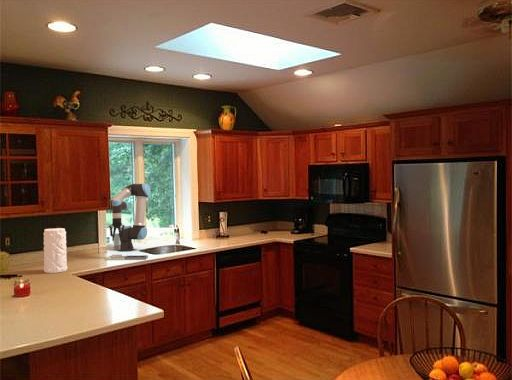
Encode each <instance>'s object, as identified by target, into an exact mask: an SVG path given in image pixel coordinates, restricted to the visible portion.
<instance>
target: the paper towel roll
mask: <svg viewBox="0 0 512 380" xmlns="http://www.w3.org/2000/svg"><path fill="white" fill-rule="evenodd" d="M43 251H44V252H43V263H44V266H43V269H42V270H43V273H47V274H54V273H55V274H56V273H63V272H66V271H67V270H68V265H67V261H68V259H67V258H68V257H67V254H68V252H67V231H66V228H62V227H56V228H44V232H43Z"/></svg>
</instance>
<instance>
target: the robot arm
mask: <svg viewBox="0 0 512 380" xmlns="http://www.w3.org/2000/svg"><path fill="white" fill-rule="evenodd" d="M132 196H133V197H134V196H135V198H136V204H135V205H136V206H135V207H136V208H135V213H134V214H135V215H134V216H135V217H134V224H132V225H125V224H123V223H122V211H125V210H128V209H129V202H127V201H125V200H126V199H127V198H130V197H132ZM149 196H151V187H150V185H149V184H148V183H131V184H129V185H126V186H125V187H123V188H122V189H121V191H120V192H118V194H116V195H115V196H113V197H112V198H110V200H111V209H110V210H109V211H112V213H111V215H112V218H111V219H112V223H111V224H109V226H108V227H109V231H110V232H109V234H110V237H112V241H113V245H115V235H114V234H116V230H118V231H117V232H118V234H119V236H120V237H119V245H120V250H118V252H130V251H134V249H135V248H134V245H133V242H132V240H136V241H138V240H141V241H142V240H145V239H146V237H147V235H148V229H147V227H146V225H145V213H146V203H147V201H146V200H148V198H149Z"/></svg>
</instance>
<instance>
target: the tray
mask: <svg viewBox="0 0 512 380" xmlns="http://www.w3.org/2000/svg"><path fill="white" fill-rule="evenodd" d="M126 256H127V255H122V258H111V255H109V256H106V257H105V258H104V260H105V261H125V260H124V257H126Z"/></svg>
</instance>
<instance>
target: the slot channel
mask: <svg viewBox="0 0 512 380" xmlns="http://www.w3.org/2000/svg"><path fill="white" fill-rule="evenodd" d="M125 256H126V257H124V260H123V261H146V260H147V259H148V258H149V255H146V254H145V255H144V254H143V255H125Z"/></svg>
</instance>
